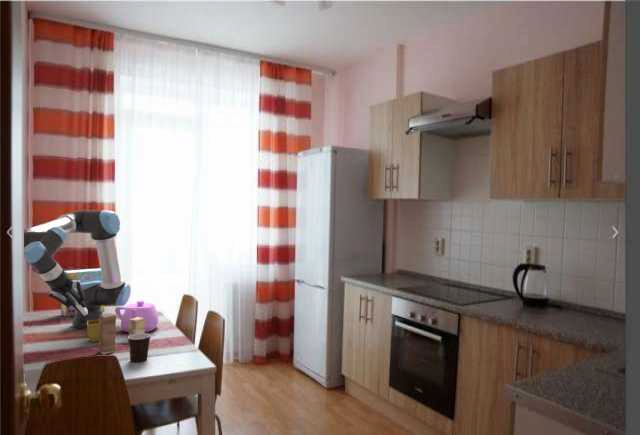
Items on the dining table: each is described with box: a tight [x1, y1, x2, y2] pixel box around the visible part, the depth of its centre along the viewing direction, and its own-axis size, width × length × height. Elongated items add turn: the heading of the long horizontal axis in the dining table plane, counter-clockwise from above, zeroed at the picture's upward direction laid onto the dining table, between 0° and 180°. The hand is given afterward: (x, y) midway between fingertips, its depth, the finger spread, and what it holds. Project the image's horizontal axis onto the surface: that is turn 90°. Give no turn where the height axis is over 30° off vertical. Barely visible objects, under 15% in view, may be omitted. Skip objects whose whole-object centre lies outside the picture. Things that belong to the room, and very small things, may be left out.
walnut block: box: [98, 312, 117, 355], centre depth 187 cm, size 5×5×16 cm
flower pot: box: [86, 320, 99, 343], centre depth 202 cm, size 9×9×9 cm
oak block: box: [128, 317, 146, 336], centre depth 205 cm, size 5×5×10 cm
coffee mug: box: [127, 332, 151, 364], centre depth 176 cm, size 12×9×10 cm
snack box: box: [60, 267, 105, 318], centre depth 251 cm, size 22×9×26 cm, turn 141°
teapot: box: [114, 300, 159, 334], centre depth 217 cm, size 23×21×15 cm
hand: (85, 312), depth 185 cm, fingers closed
